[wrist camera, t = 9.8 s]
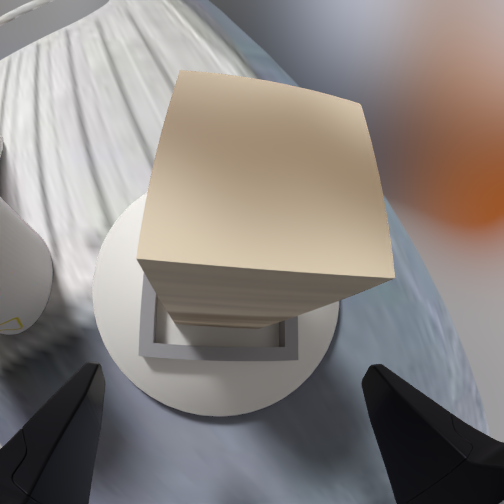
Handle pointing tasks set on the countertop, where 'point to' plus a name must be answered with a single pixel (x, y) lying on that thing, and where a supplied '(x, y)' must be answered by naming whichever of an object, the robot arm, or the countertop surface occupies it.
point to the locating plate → (197, 339)
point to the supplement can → (1, 145)
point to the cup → (21, 273)
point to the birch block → (261, 203)
